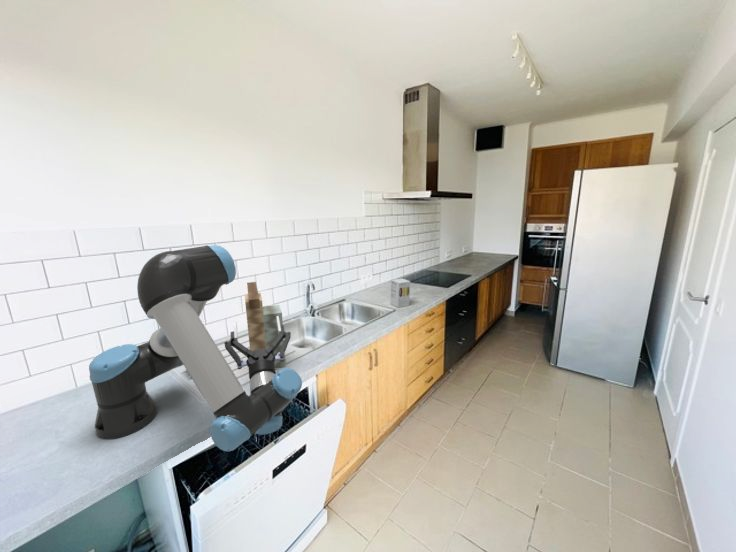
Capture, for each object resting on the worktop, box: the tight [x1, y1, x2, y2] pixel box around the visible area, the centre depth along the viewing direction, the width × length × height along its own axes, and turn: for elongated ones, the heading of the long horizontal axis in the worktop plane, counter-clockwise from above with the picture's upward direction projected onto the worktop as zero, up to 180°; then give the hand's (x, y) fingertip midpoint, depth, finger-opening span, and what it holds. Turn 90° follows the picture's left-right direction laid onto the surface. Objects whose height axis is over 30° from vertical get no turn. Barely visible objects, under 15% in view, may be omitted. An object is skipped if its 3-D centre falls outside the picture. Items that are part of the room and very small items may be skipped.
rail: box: [246, 281, 260, 309], centre depth 116 cm, size 4×24×4 cm, turn 23°
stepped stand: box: [244, 292, 287, 370], centre depth 123 cm, size 13×10×30 cm
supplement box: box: [389, 278, 411, 308], centre depth 197 cm, size 10×9×17 cm
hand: (256, 321), depth 102 cm, fingers open, 13 cm apart
